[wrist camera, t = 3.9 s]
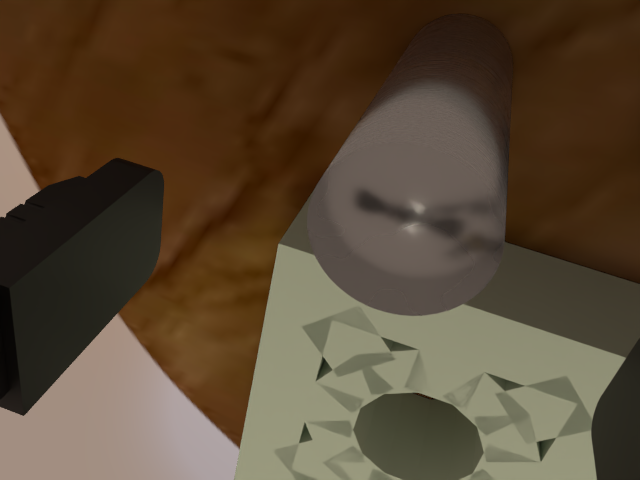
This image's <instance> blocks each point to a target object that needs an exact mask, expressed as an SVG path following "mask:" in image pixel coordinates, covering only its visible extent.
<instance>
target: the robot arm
mask: <svg viewBox="0 0 640 480" xmlns="http://www.w3.org/2000/svg"><path fill="white" fill-rule="evenodd" d="M163 194H164V179H163V175H162V173H161V172H160V171H158V170H155V169H152V168H148V167H145V166H142V165H139V164H136V163H133V162H130V161H127V160H123V159H120V158H115V159H113V160H111V161H110V162H108V163H107V164H105V165H104V166H102V167H101V168H100V169H98V170H97V171H95V172H94V173H93V174H91V175H90V176H88V177H87V178H84V177H81V176H78V177H74V178H71V179H68V180H65V181H61V182H58V183H55V184H52V185H48V186H47V187H45V188H44V189H42V190H41V191H39V192H38V193H36V194H35V195H33V196H32V197H30V198H29V199H27V200H26V202H25V204H24V205H23V204H20V205H19V206H17V207H15V208H14V209H12V210H11V211H9V212H8V213H7V214H6V217H5V218H4V217H0V407H2V408H5V409H7V410H10V411H12V412H15V413H18V414H20V415H23V416H24V415H25V414H26V413H27V412H28V411H29V410H30V409H31V408H32V406H33V405H34V404H35V403H36V402H37V401H38V400H39V399H40V398H41V397H42V395H43V394H44V393H45V392H46V391H47V390H48V389H49V388H50V387H51V386H52V384H53V383H54V382H55V381H56V380H57V379H58V378H59V377H60V375H61V374H62V373H63V372H64V371H65V370H66V369H67V368H68V367H69V366H70V365H71V364H72V362H73V361H74V360H75V359H76V358H77V357H78V356H79V355H80V354H81V353H82V351H83V350H84V349H85V348H86V347H87V346H88V345H89V344H90V343H91V342H92V340H93V339H94V338H95V337H96V336H97V335H98V334H99V333H100V332H101V331H102V329H103V328H104V327H105V326H106V325H107V324H108V323H109V322H110V321H111V320H112V319H113V317H114V316H115V315H116V314H117V313H118V312H119V311H120V310H121V309H122V308H123V306H124V305H125V304H126V303H127V302H128V301H129V300H130V299H131V298H132V297H133V295H134V294H135V293H136V292H137V291H138V290H139V289H140V288H141V287H142V286H143V284H144V283H145V282H146V281H147V280H148V278H149V277H150V275H151V274H152V272H153V270H154V268H155V265H156V263H157V260H158V256H159V252H160V244H161V227H162V210H163ZM591 438H592V446H593V453H594V461H595V469H596V476H597V480H640V338H639V339H638V341H637V342H636V344H635V345H634V347H633V348H632V350H631V351H630V353H629V354H628V356H627V357H626V359H625V360H624V362H623V364H622V365H621V367H620V368H619V370H618V371H617V373H616V374H615V376H614V377H613V379H612V380H611V382H610V383H609V385H608V386H607V388H606V389H605V391H604V392H603V394H602V395H601V397H600V399H599V401H598V403H597V406H596V408H595V411H594V415H593V419H592V427H591Z"/></svg>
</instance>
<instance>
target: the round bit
mask: <svg viewBox="0 0 640 480" xmlns="http://www.w3.org/2000/svg"><path fill="white" fill-rule="evenodd" d="M512 79H513V58H512V53H511V49H510V47H509V44H508V42H507V40H506V39H505V37H504V36H503V34H502V33H501V32H500V31H499V30H498V29H497V28H496V27H495V26H494V25H493V24H491V23H490V22H488V21H487V20H485V19H483V18H480V17H477V16H474V15H469V14H451V15H447V16H443V17H440V18H438V19H436V20H434V21H432V22H430V23H429V24H427V25H426V26H425V27H423V28H422V29H421V30H420V31H419V32H418V33H417V34H416V36H415V37H414V38H413V40H412V41H411V43H410V44H409V46H408V47H407V49H406V50H405V52H404V53H403V55H402V57H401V58H400V60H399V61H398V63H397V64H396V66H395V67H394V69H393V70H392V72H391V73H390V75H389V76H388V78H387V79H386V81H385V82H384V84H383V85H382V87H381V88H380V90H379V91H378V93H377V94H376V96H375V97H374V99H373V100H372V102H371V103H370V105H369V106H368V108H367V110H366V111H365V113H364V114H363V116H362V117H361V119H360V120H359V122H358V123H357V125H356V126H355V128H354V129H353V131H352V132H351V134H350V135H349V137H348V138H347V140H346V141H345V143H344V144H343V146H342V147H341V149H340V150H339V152H338V153H337V155H336V156H335V158H334V159H333V161H332V163H331V164H330V166H329V167H328V169H327V170H326V172H325V173H324V175H323V176H322V178H321V179H320V181H319V182H318V184H317V185H316V187H315V189H314V192H313V194H312V196H311V200H310V203H309V207H308V214H307V229H308V236H309V241H310V244H311V247H312V250H313V252H314V255H315V257H316V259H317V261H318V263H319V264H320V266H321V268H322V269H323V270H324V272H325V273H326V274H327V276H328V277H329V278H330V279H331V280H332V281H333V282H334V283H335V284H336V285H337V286H338V287H339V288H340V289H341V290H343V291H344V292H345V293H346V294H348V295H349V296H351V297H352V298H354V299H355V300H357V301H359V302H361V303H363V304H365V305H367V306H369V307H372V308H374V309H377V310H380V311H383V312H387V313H391V314H397V315H406V316H425V315H432V314H438V313H441V312H445V311H448V310H451V309H453V308H456V307H458V306H460V305H462V304H464V303H466V302H467V301H469V300H471V299H472V298H473V297H475V296H476V295H477V294H479V293H480V292H481V291H482V290H483V289H484V288H485V287H486V286H487V284H488V283H489V282H490V280H491V279H492V278H493V276H494V274H495V272H496V271H497V269H498V267H499V264H500V261H501V258H502V256H503V250H504V245H505V225H506V204H507V183H508V163H509V142H510V121H511V100H512Z"/></svg>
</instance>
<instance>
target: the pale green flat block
mask: <svg viewBox="0 0 640 480" xmlns="http://www.w3.org/2000/svg"><path fill="white" fill-rule="evenodd" d="M313 192H314V191H313ZM313 192H312V194H313ZM312 194H311V195H310V197H309V198H308V200H307V201H306V203H305V204H304V206H303V207H302V209H301V210H300V212H299V213H298V215H297V216H296V218H295V219H294V221H293V222H292V224H291V226H290V227H289V229H288V230H287V232H286V233H285V235H284V236H283V238H282V239H281V241H280V242H279V244H278V250H277V255H276V260H275V266H274V271H273V276H272V282H271V287H270V292H269V297H268V303H267V308H266V313H265V319H264V324H263V329H262V335H261V340H260V345H259V350H258V356H257V361H256V366H255V372H254V377H253V382H252V388H251V393H250V398H249V404H248V409H247V414H246V419H245V425H244V430H243V435H242V441H241V446H240V451H239V457H238V462H237V467H236V472H235V478H234V480H597V476H596V469H595V461H594V453H593V446H592V438H591V427H592V419H593V415H594V411H595V408H596V406H597V403H598V401H599V399H600V397H601V395H602V394H603V392H604V391H605V389H606V388H607V386H608V385H609V383H610V382H611V380H612V379H613V377H614V376H615V374H616V373H617V371H618V370H619V368H620V367H621V365H622V364H623V362H624V360H625V359H626V357H627V356H628V354H629V353H630V351H631V350H632V348H633V347H634V345H635V344H636V342H637V341H638V339H639V338H640V284H638V283H635V282H631V281H628V280H625V279H622V278H619V277H615V276H612V275H609V274H606V273H603V272H599V271H596V270H593V269H590V268H587V267H583V266H580V265H577V264H574V263H571V262H567V261H564V260H561V259H558V258H555V257H551V256H548V255H545V254H542V253H539V252H535V251H532V250H529V249H526V248H523V247H519V246H516V245H513V244H510V243H507V242H505V245H504V250H503V256H502V258H501V261H500V264H499V267H498V269H497V271H496V272H495V274H494V276H493V278H492V279H491V280H490V282H489V283H488V284H487V286H486V287H485V288H484V289H483V290H482V291H481V292H480V293H479V294H477V295H476V296H475V297H473V298H472V299H471V300H469V301H467V302H466V303H464V304H462V305H460V306H458V307H456V308H453V309H451V310H448V311H445V312H441V313H438V314H432V315H425V316H406V315H397V314H391V313H387V312H383V311H380V310H377V309H374V308H372V307H369V306H367V305H365V304H363V303H361V302H359V301H357V300H355V299H354V298H352V297H351V296H349V295H348V294H346V293H345V292H344V291H343V290H341V289H340V288H339V287H338V286H337V285H336V284H335V283H334V282H333V281H332V280H331V279H330V278H329V277H328V276H327V274H326V273H325V272H324V270H323V269H322V268H321V266H320V264H319V263H318V261H317V259H316V257H315V255H314V252H313V250H312V247H311V244H310V241H309V236H308V229H307V214H308V207H309V203H310V200H311V196H312ZM417 392H418V393H421V394H424V395H427V396H429V397H432V398H435V399H433V400H430V399H427V398H424V397H422V396H419V395H416V394H413V393H417Z"/></svg>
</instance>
